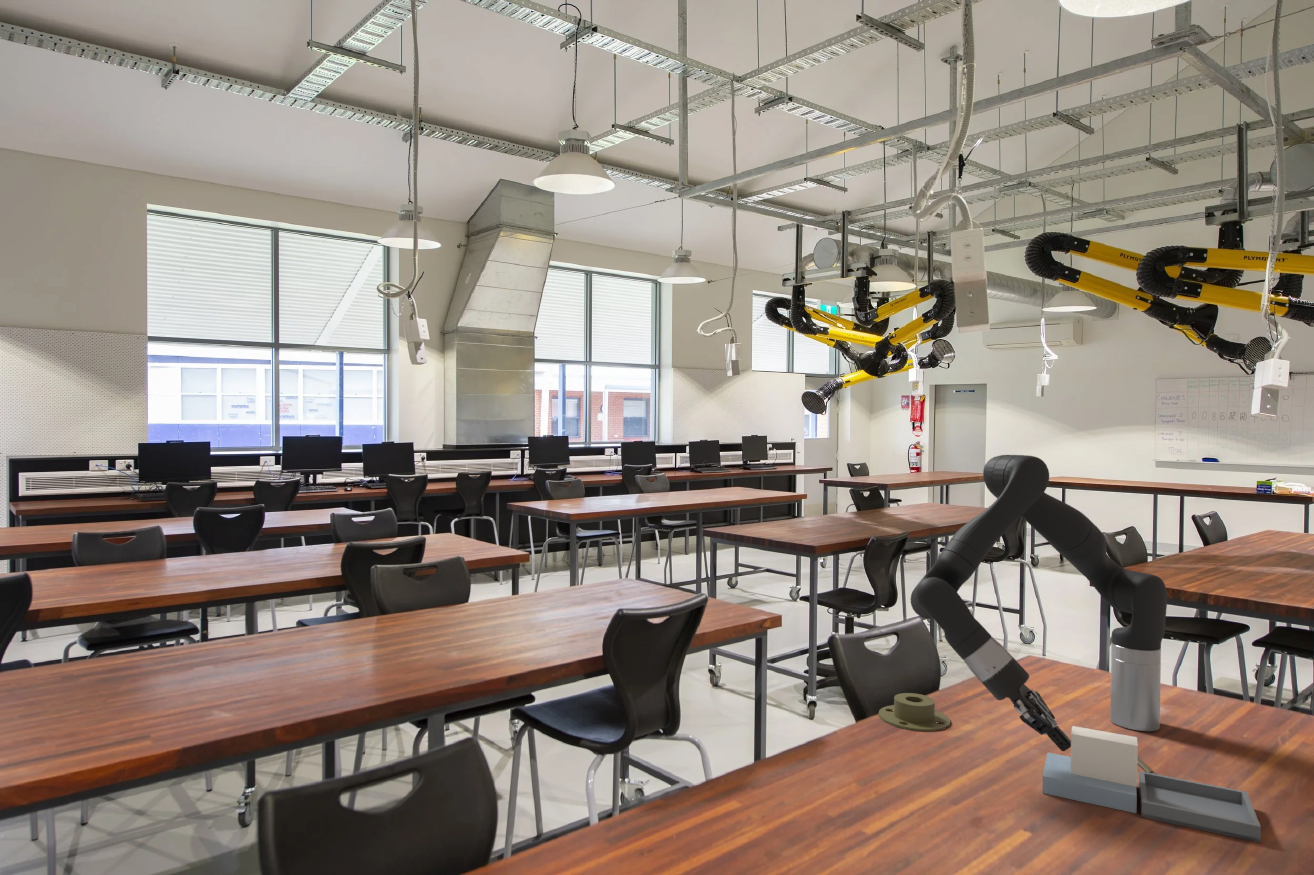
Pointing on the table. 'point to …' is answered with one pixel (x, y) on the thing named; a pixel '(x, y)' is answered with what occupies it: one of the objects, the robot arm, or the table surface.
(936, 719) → the flange
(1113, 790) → the plate
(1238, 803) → the tray
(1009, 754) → the table surface
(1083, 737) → the white rectangular block
